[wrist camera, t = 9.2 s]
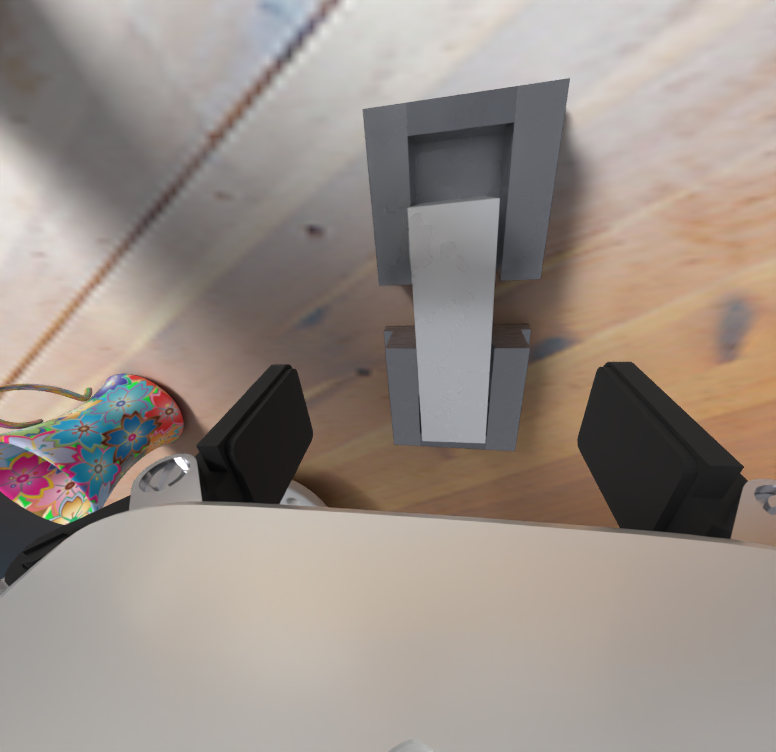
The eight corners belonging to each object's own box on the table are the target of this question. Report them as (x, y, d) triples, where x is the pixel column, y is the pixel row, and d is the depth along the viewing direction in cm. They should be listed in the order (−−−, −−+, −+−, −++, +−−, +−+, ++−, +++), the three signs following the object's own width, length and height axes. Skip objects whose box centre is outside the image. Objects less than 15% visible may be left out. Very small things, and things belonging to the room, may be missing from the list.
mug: (210, 425, 33) (118, 515, 24) (157, 449, 36) (59, 535, 27) (118, 326, 28) (-38, 388, 19) (68, 364, 32) (-84, 432, 23)
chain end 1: (368, 126, 18) (348, 111, 15) (559, 100, 16) (587, 75, 13) (381, 271, 22) (368, 285, 19) (536, 263, 20) (553, 278, 17)
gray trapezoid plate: (416, 203, 19) (398, 209, 13) (484, 195, 18) (499, 198, 12) (425, 380, 25) (416, 440, 19) (477, 380, 24) (485, 443, 18)
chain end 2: (386, 326, 24) (375, 348, 21) (528, 324, 22) (542, 348, 19) (393, 413, 28) (385, 443, 24) (515, 417, 26) (524, 451, 23)
